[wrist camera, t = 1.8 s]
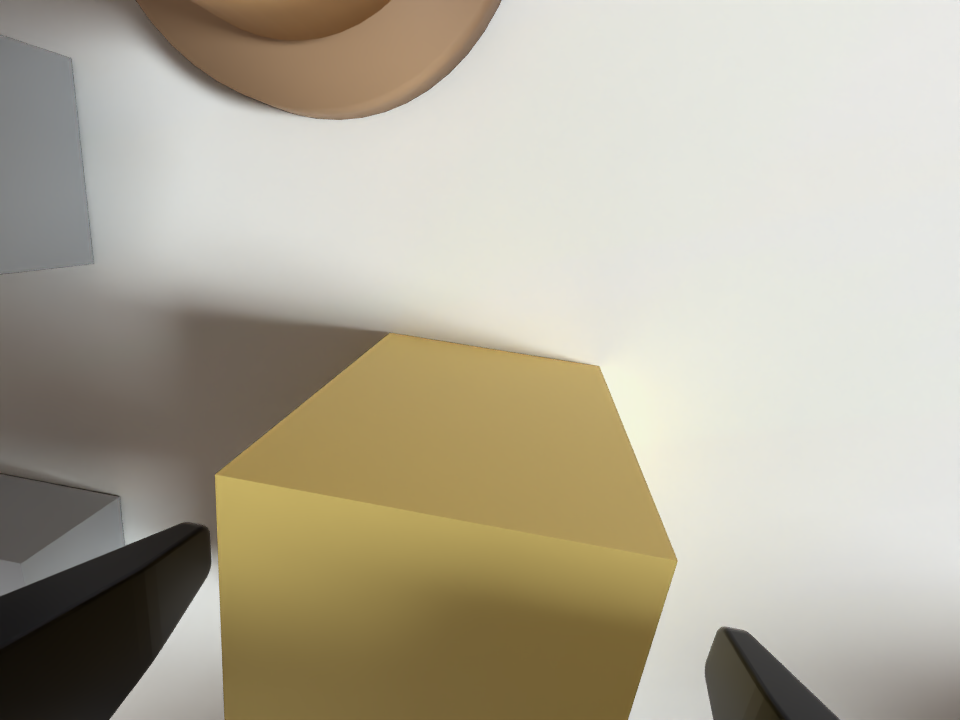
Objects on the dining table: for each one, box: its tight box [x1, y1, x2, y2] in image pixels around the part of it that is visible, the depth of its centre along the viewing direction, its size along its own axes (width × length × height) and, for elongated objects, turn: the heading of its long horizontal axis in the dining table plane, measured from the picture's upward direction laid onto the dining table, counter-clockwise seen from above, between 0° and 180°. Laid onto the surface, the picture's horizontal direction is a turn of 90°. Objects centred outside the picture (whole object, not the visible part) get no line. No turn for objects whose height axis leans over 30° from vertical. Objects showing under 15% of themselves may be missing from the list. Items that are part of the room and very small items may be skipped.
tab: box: [215, 333, 678, 720], centre depth 9 cm, size 7×4×6 cm, turn 172°
